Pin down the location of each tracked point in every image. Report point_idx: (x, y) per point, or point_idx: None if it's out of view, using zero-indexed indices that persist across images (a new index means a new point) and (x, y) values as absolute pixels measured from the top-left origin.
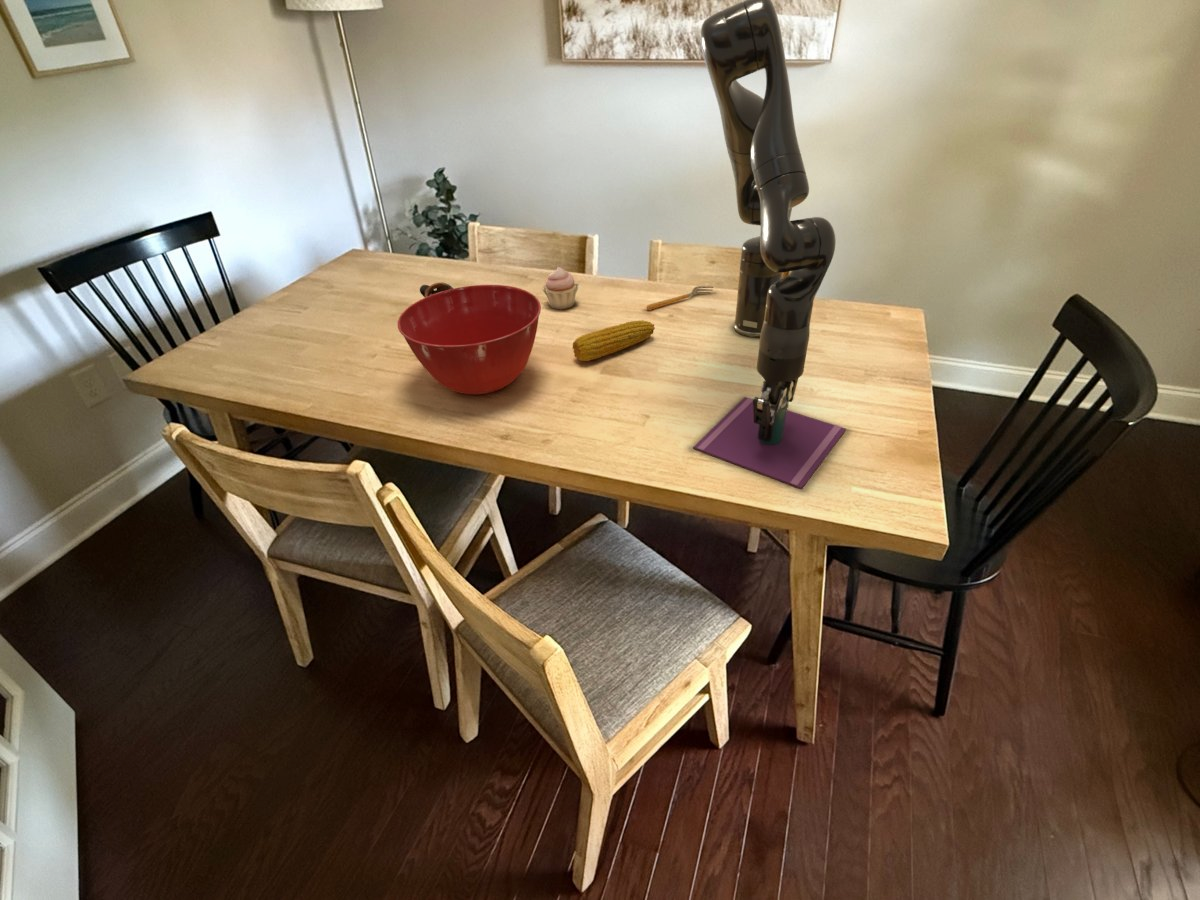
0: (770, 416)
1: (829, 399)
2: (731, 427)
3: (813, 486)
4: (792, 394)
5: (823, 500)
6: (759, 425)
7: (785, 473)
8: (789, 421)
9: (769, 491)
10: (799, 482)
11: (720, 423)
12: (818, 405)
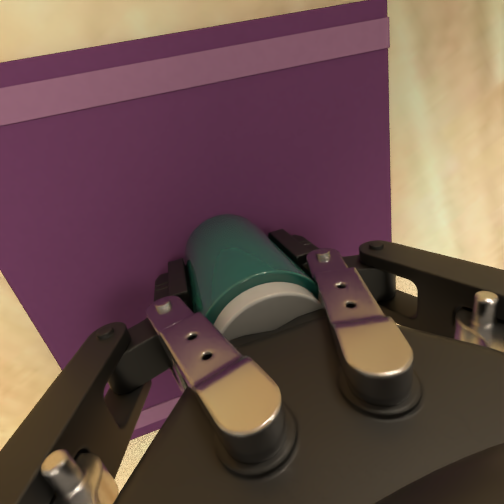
0: (175, 374)
1: (495, 224)
2: (169, 112)
3: (147, 443)
4: (393, 317)
5: (124, 481)
6: (196, 253)
7: None
8: (340, 233)
9: (23, 418)
10: None
11: (151, 51)
12: (458, 224)
